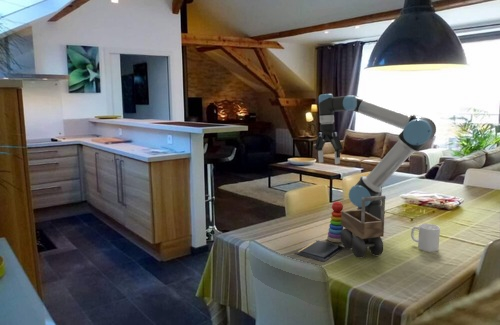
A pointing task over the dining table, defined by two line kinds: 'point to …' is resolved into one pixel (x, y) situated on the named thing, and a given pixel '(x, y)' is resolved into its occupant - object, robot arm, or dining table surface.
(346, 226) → the trolley
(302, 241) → the dining table surface
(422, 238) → the cup
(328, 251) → the dark navy book
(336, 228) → the stacking toy
